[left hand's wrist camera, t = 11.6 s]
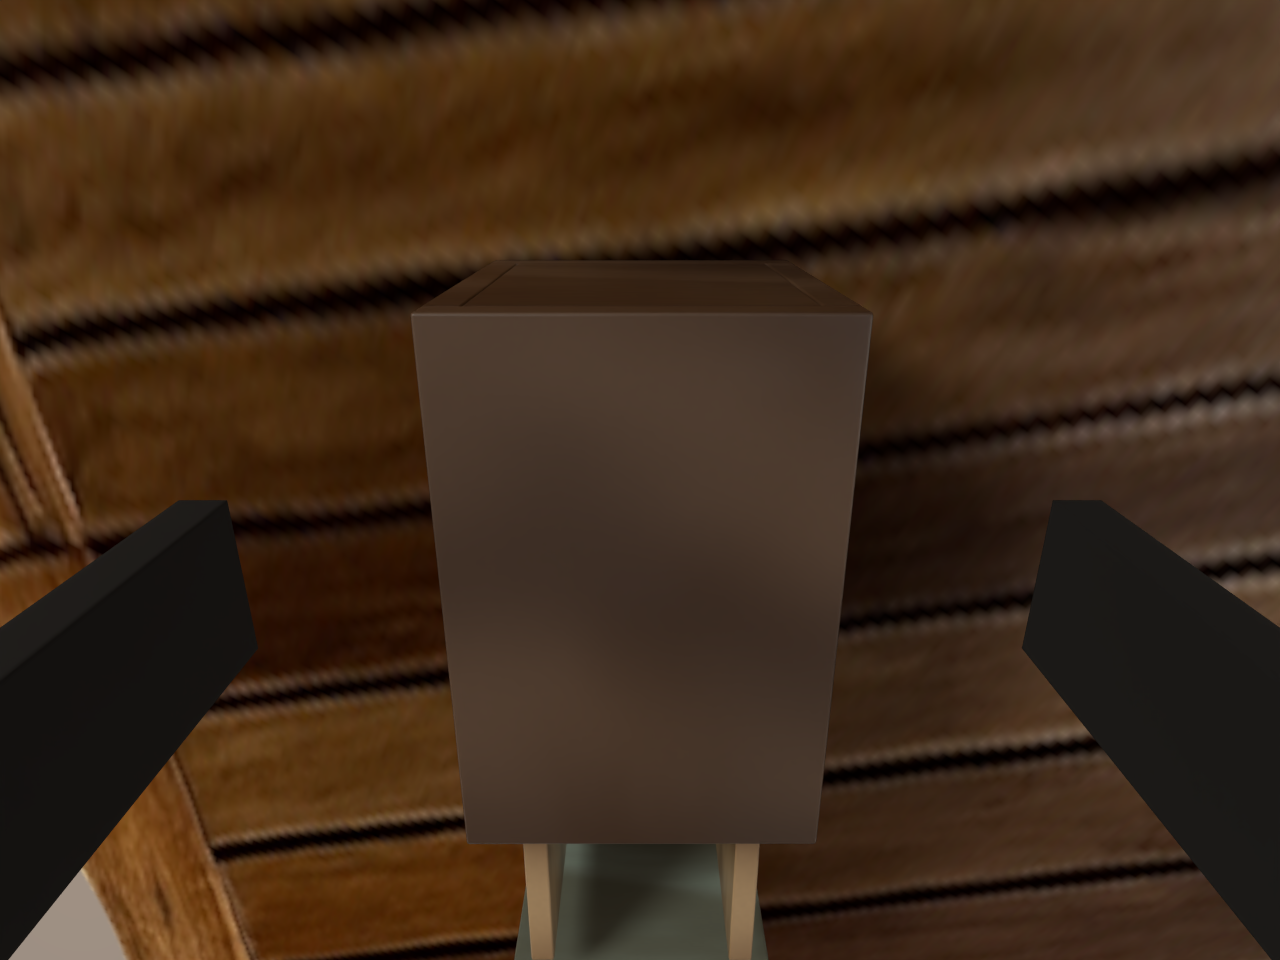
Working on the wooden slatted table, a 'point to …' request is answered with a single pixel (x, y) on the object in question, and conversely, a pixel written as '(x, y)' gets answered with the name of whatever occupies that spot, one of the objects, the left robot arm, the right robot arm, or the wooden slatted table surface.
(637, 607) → the cabinet
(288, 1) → the wooden slatted table surface
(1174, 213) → the wooden slatted table surface
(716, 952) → the drawer
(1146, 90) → the wooden slatted table surface
